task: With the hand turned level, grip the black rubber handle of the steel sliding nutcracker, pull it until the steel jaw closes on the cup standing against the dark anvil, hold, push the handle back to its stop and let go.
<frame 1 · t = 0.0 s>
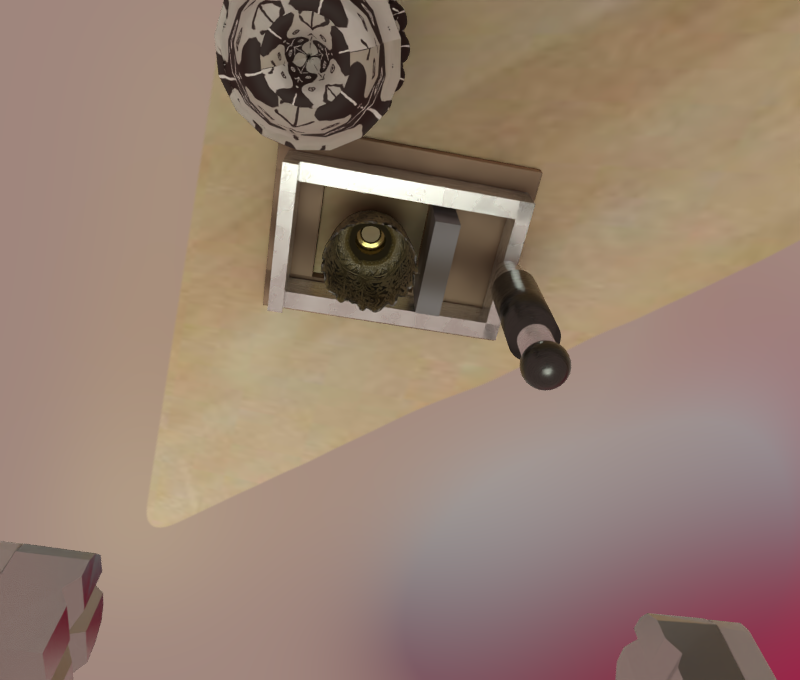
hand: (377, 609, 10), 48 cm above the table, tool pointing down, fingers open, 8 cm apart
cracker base: (359, 231, 57), on the table
decorative candle: (339, 21, 49), on the table
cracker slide: (407, 291, 48), point 11 cm above the table, slide at 0.0 cm
cup: (370, 232, 57), on the table
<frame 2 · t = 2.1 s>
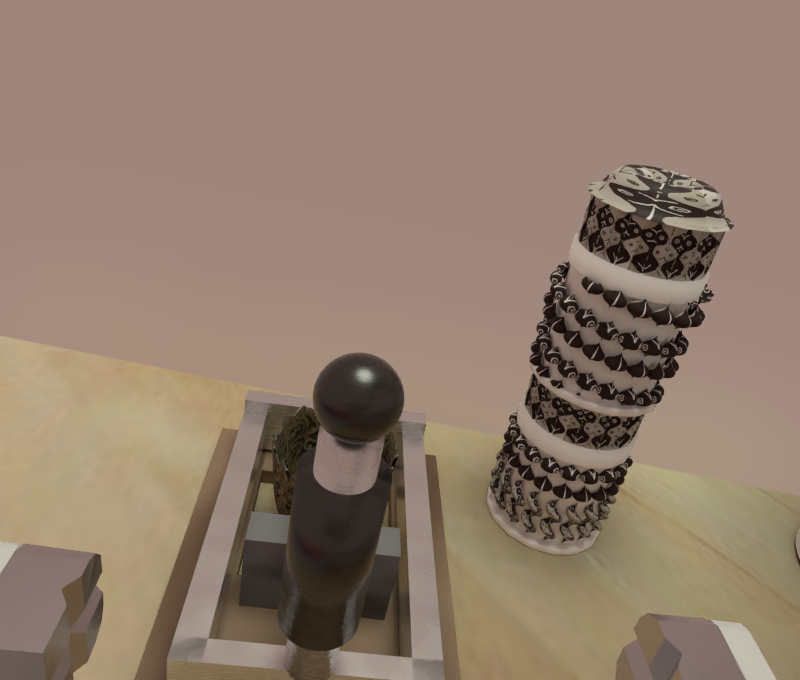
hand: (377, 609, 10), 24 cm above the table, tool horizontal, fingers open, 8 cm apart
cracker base: (321, 525, 43), on the table
decorative candle: (542, 513, 48), on the table
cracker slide: (340, 429, 34), point 11 cm above the table, slide at 0.0 cm
cup: (319, 539, 42), on the table
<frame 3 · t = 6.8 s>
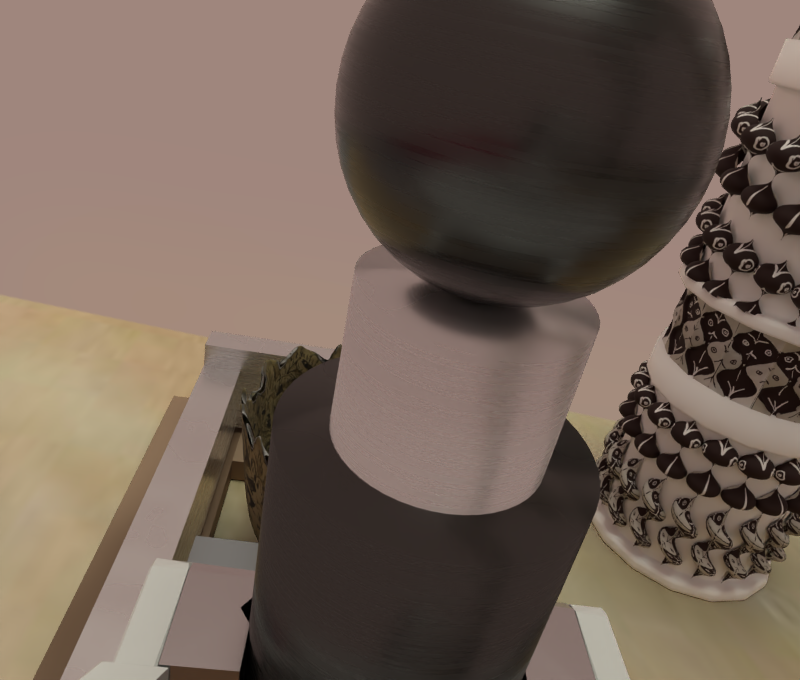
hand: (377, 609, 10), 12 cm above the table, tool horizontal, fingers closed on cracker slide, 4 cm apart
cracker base: (329, 553, 26), on the table
decorative candle: (673, 530, 31), on the table
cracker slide: (375, 371, 17), point 11 cm above the table, slide at 0.0 cm, touching gripper
cup: (327, 578, 25), on the table
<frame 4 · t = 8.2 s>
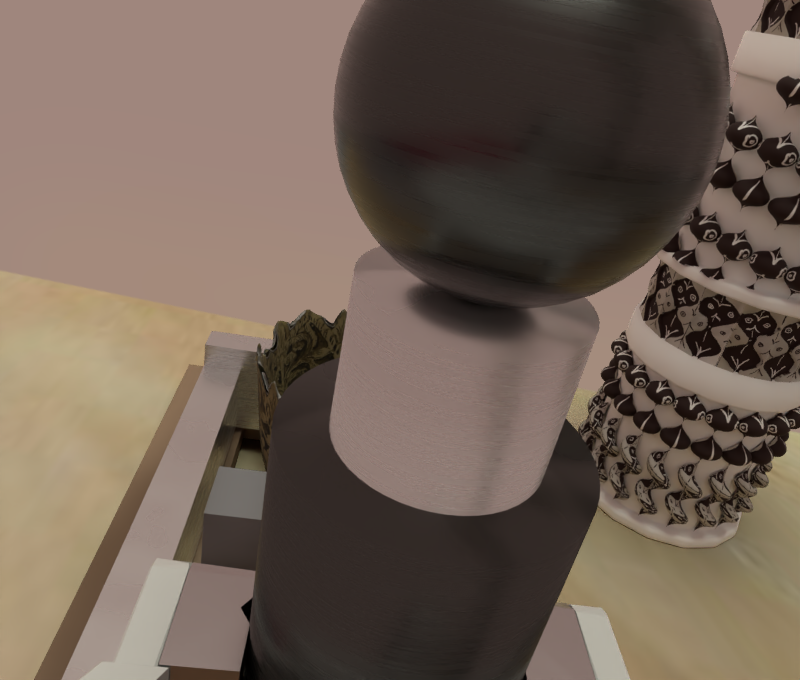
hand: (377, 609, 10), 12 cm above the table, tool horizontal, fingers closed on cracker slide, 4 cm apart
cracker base: (334, 502, 28), on the table
decorative candle: (651, 488, 33), on the table
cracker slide: (375, 370, 17), point 11 cm above the table, slide at 2.8 cm, touching gripper
cup: (332, 522, 27), on the table
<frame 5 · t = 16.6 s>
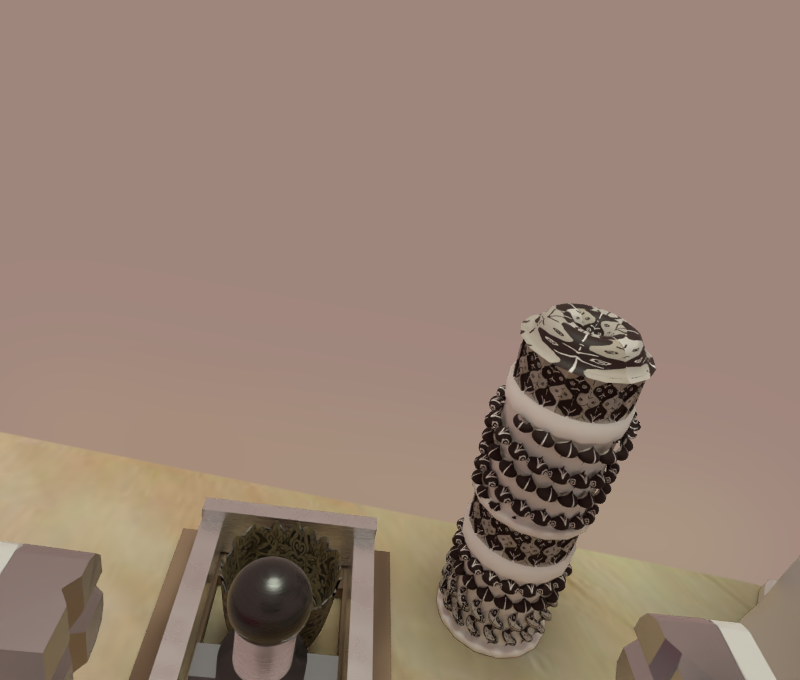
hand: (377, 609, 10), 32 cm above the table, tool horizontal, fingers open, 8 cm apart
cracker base: (273, 633, 45), on the table
decorative candle: (490, 610, 50), on the table
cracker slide: (280, 567, 36), point 11 cm above the table, slide at 0.0 cm
cup: (270, 648, 44), on the table
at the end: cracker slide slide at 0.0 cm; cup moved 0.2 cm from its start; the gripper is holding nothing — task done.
